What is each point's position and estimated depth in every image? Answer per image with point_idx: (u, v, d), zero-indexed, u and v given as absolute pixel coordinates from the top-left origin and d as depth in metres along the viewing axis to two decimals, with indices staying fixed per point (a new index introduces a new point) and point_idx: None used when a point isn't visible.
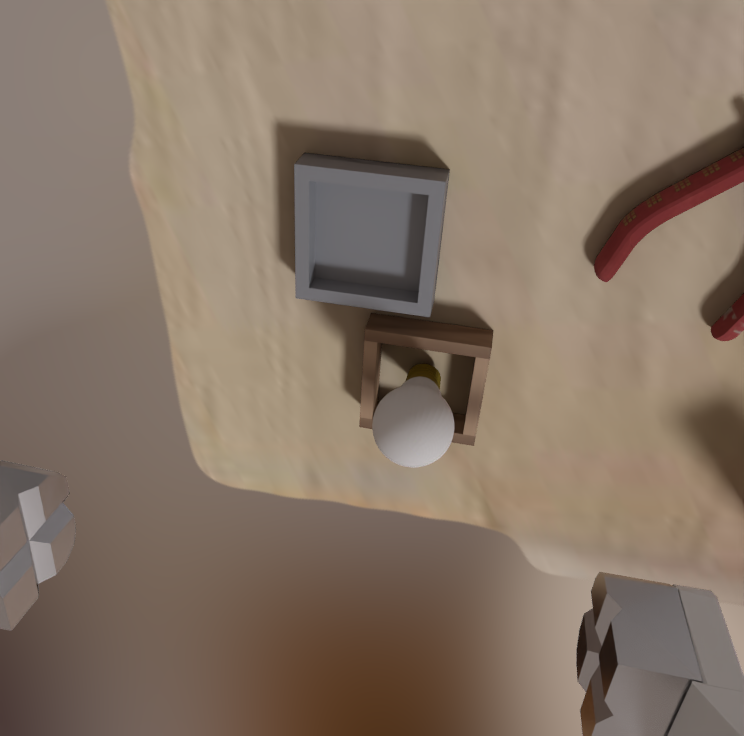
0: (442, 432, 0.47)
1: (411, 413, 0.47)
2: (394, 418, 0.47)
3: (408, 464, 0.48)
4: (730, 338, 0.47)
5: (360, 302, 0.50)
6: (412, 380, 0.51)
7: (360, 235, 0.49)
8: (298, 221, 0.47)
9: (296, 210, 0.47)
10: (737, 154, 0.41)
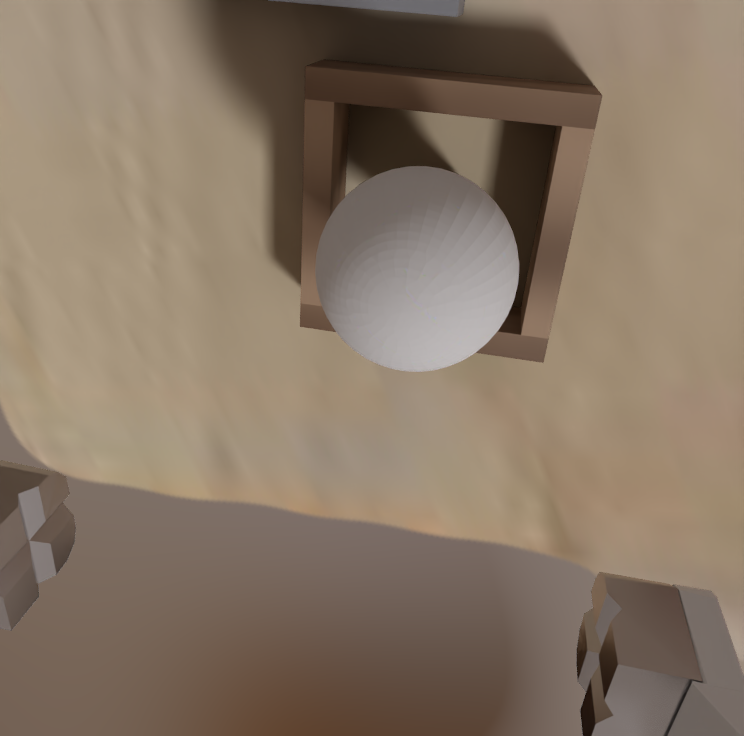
0: (495, 262, 0.18)
1: (413, 205, 0.18)
2: (368, 221, 0.18)
3: (404, 353, 0.19)
4: None
5: None
6: None
7: None
8: None
9: None
10: None
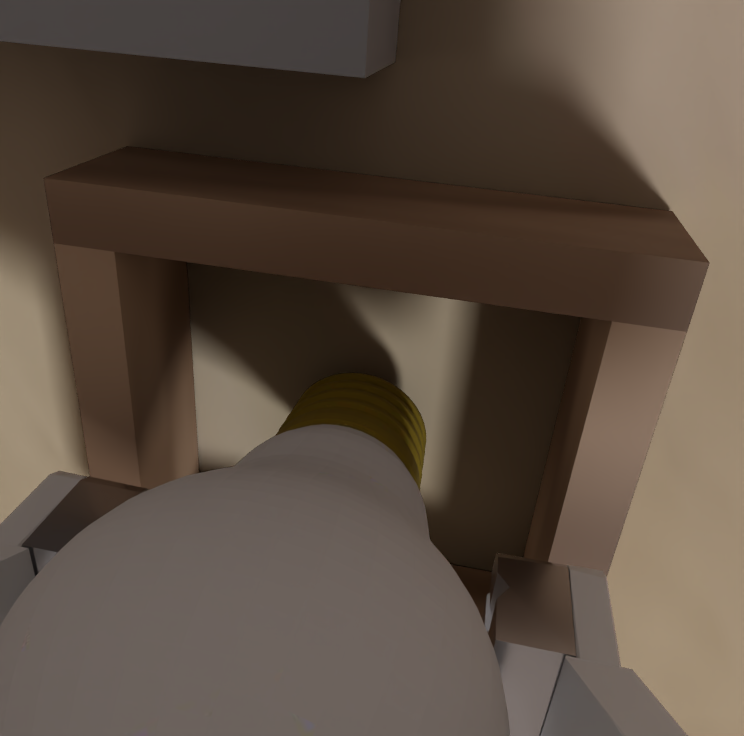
0: None
1: (157, 732, 0.05)
2: None
3: None
4: None
5: None
6: (280, 444, 0.10)
7: None
8: None
9: None
10: None
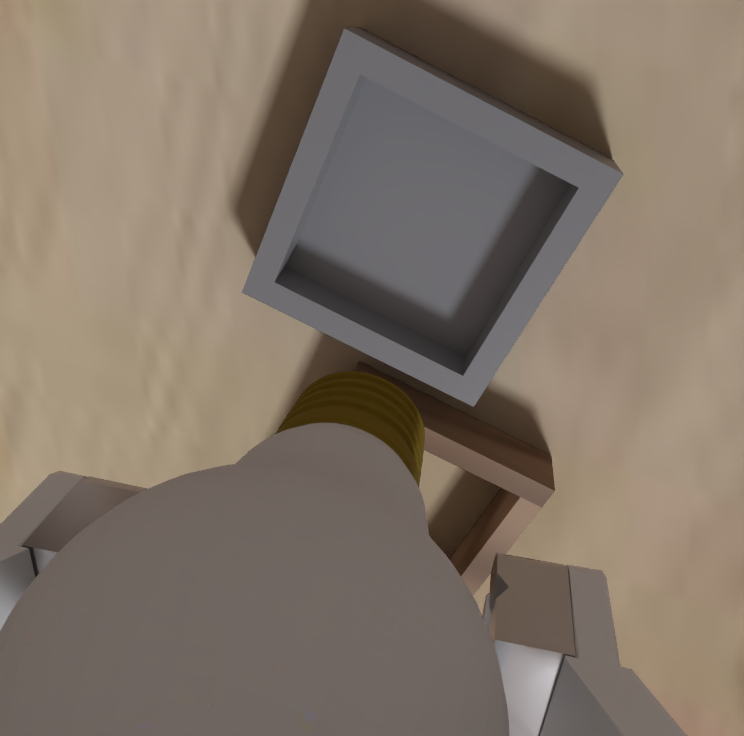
0: None
1: (160, 724, 0.05)
2: None
3: None
4: None
5: (360, 340, 0.26)
6: (278, 442, 0.10)
7: (402, 221, 0.26)
8: (305, 149, 0.24)
9: (310, 126, 0.23)
10: None
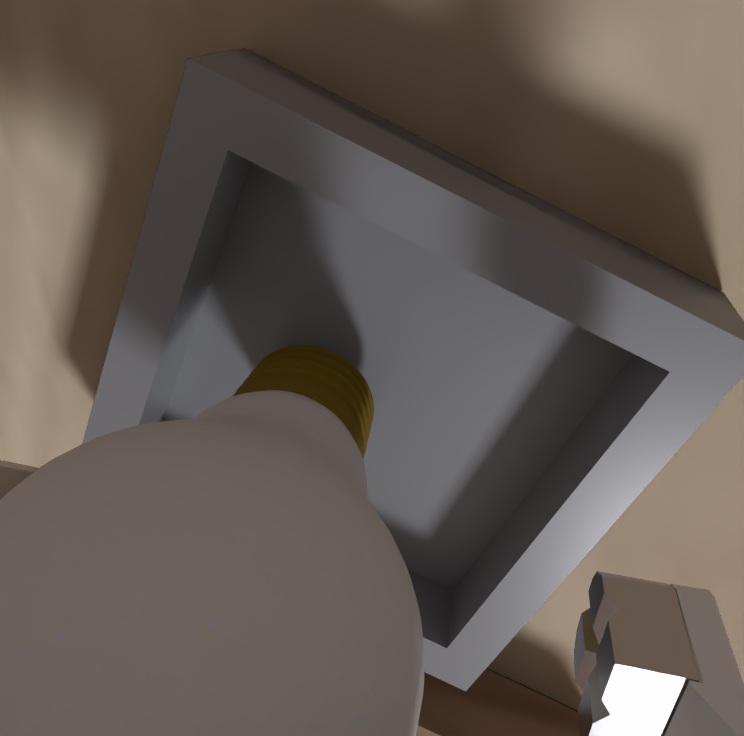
0: None
1: (73, 632, 0.06)
2: None
3: None
4: None
5: None
6: (221, 406, 0.11)
7: None
8: (140, 284, 0.12)
9: (144, 243, 0.12)
10: None
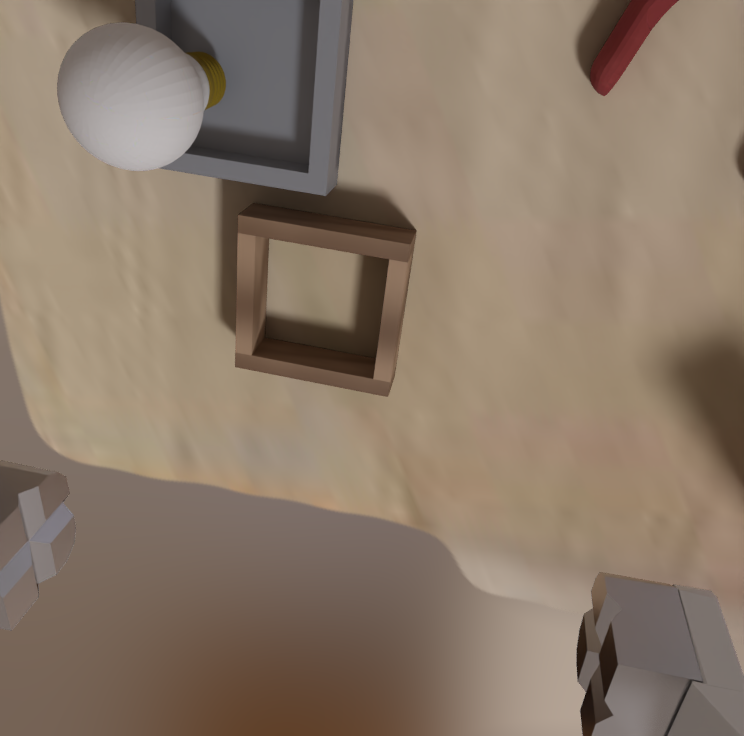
0: (142, 62, 0.27)
1: (82, 43, 0.27)
2: (63, 64, 0.28)
3: (113, 143, 0.28)
4: None
5: (230, 172, 0.36)
6: None
7: (233, 76, 0.35)
8: None
9: (138, 23, 0.33)
10: None
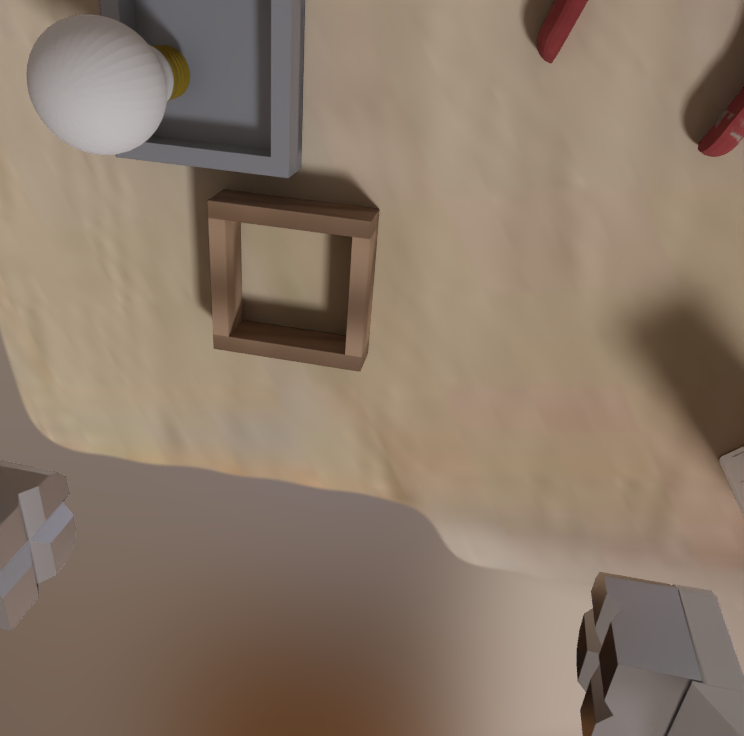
0: (104, 48, 0.29)
1: (48, 33, 0.29)
2: (31, 54, 0.29)
3: (81, 126, 0.30)
4: (725, 147, 0.33)
5: (198, 159, 0.38)
6: None
7: (197, 68, 0.37)
8: None
9: None
10: None
